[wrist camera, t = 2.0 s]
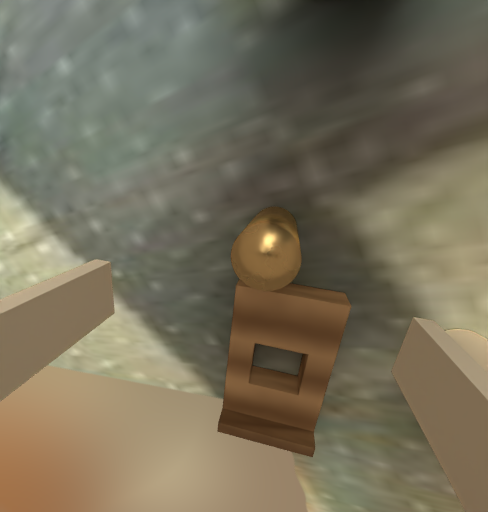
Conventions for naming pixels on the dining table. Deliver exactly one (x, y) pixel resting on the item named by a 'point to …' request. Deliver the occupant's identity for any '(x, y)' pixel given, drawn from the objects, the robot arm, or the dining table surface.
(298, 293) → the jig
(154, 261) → the dining table surface
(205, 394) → the dining table surface
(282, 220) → the golden brass cylinder
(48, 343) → the robot arm
